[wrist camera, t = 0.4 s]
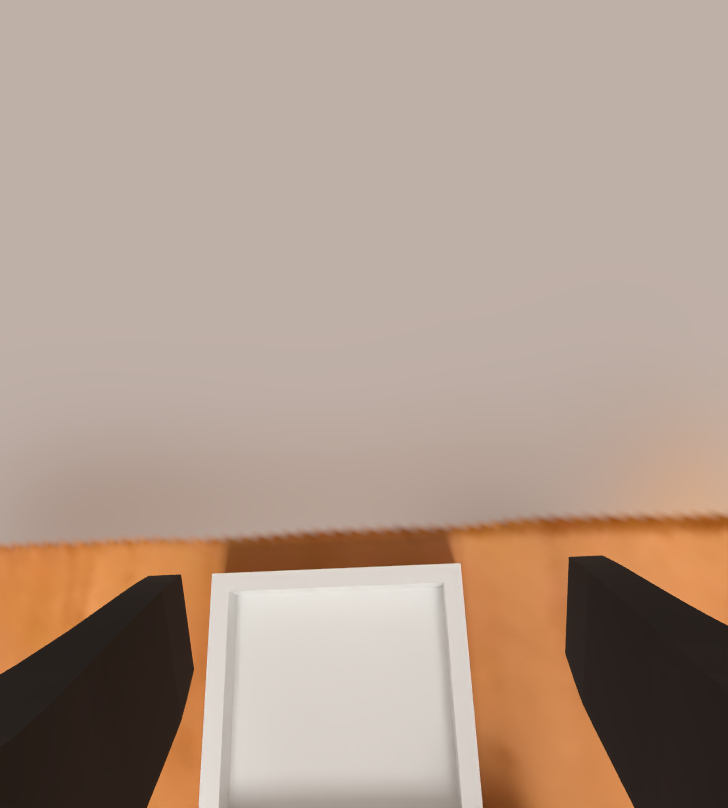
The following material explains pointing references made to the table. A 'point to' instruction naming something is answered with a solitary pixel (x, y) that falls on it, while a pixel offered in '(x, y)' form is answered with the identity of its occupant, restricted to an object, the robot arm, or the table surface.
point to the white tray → (339, 690)
